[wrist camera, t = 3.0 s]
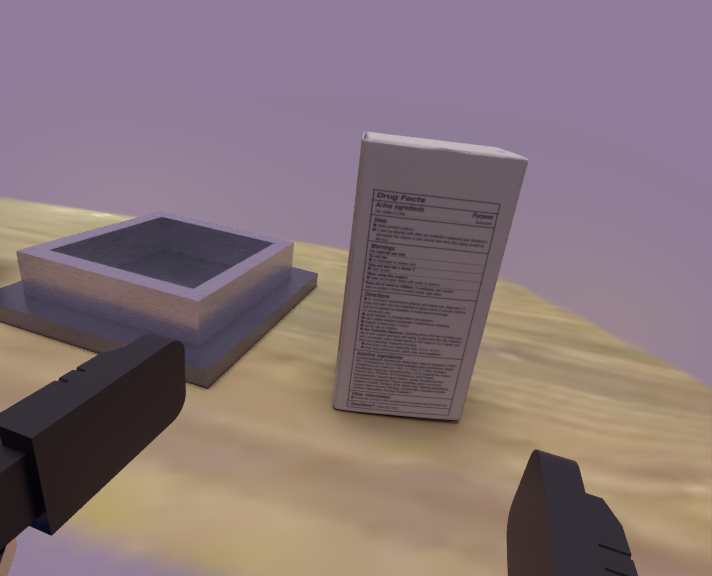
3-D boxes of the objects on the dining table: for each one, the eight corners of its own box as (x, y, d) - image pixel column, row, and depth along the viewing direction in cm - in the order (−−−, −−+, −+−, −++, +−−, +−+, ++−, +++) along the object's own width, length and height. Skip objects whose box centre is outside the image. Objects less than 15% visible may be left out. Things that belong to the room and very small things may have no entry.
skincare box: (444, 372, 24) (503, 146, 20) (461, 425, 20) (541, 159, 16) (330, 358, 24) (362, 125, 19) (325, 410, 20) (363, 132, 15)
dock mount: (-23, 314, 23) (-37, 252, 22) (158, 245, 36) (156, 204, 34) (207, 388, 20) (207, 322, 19) (316, 285, 33) (321, 241, 31)
